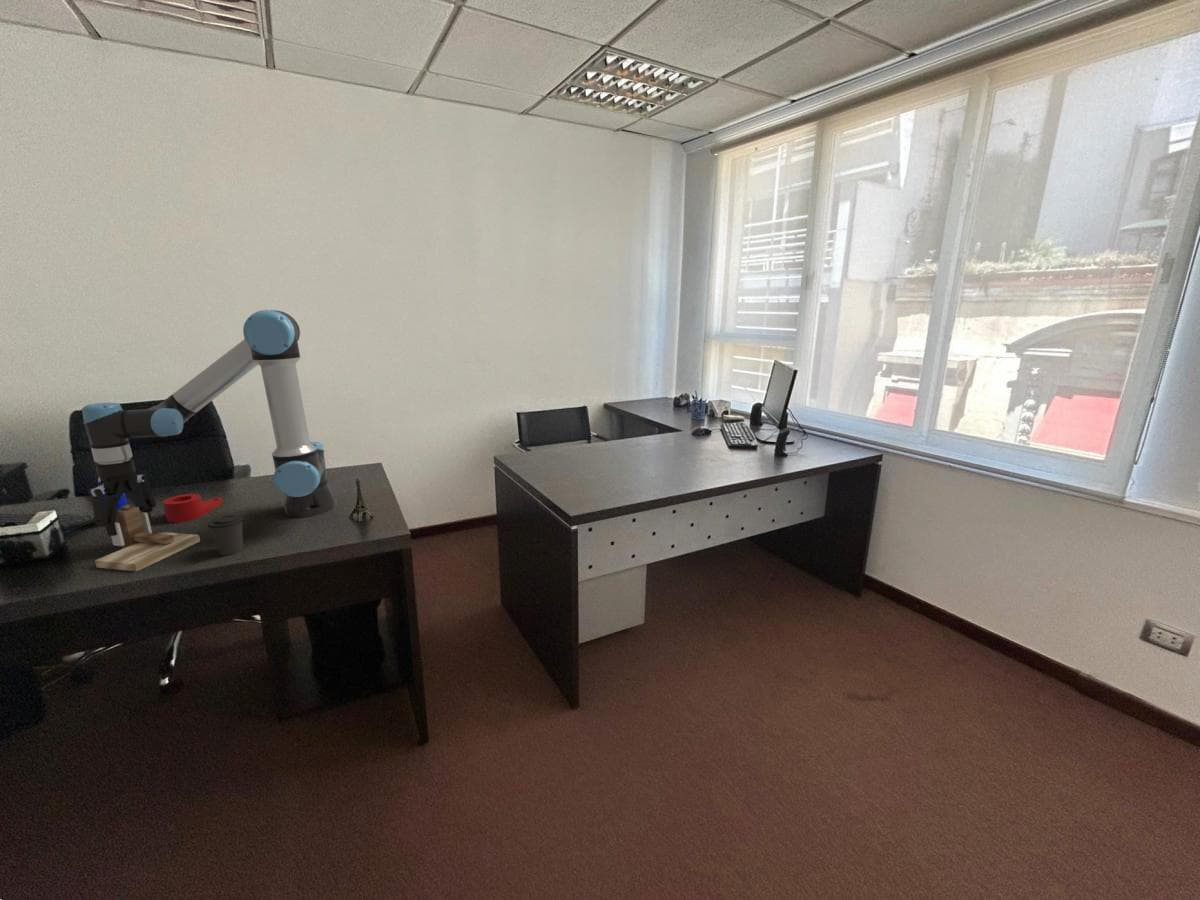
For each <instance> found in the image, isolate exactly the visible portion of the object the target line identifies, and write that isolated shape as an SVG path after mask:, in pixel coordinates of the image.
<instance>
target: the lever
mask: <svg viewBox="0 0 1200 900" xmlns="http://www.w3.org/2000/svg"><path fill="white" fill-rule="evenodd" d="M223 503H224V500H223V497H214V498H211V499H207V500H203V501H202V496H201V494H198V493H187V494H186V493H185V494H180V495H174V496H171V497H170V496H169V497H168V498H166V499H164V500H163V501H162V505H163V509H164V516H165V519H166V522H167V523H170V524H179V523H185V522H191V521H194V520H196V519H199V518H201V517H203V516H204V515H206V514H208V513H209V512H211V511H212V510H214V509H215V508H217V507H219V506H220V505H221V504H223Z"/></svg>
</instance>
